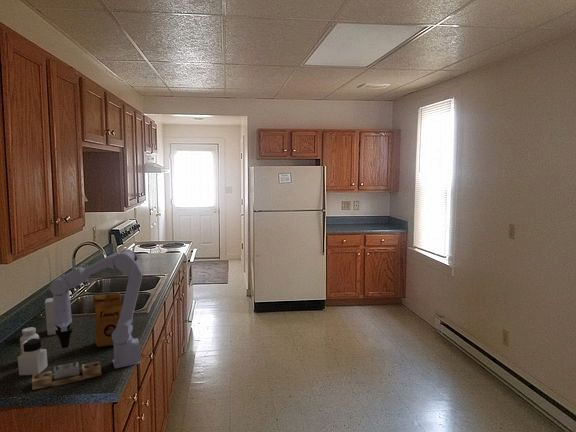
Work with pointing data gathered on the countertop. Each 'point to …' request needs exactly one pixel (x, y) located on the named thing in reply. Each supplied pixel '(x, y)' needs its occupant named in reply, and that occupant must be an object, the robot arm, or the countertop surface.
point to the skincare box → (50, 316)
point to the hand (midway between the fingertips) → (64, 343)
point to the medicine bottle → (32, 358)
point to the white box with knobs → (66, 371)
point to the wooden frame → (46, 378)
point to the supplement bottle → (28, 335)
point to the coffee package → (106, 317)
